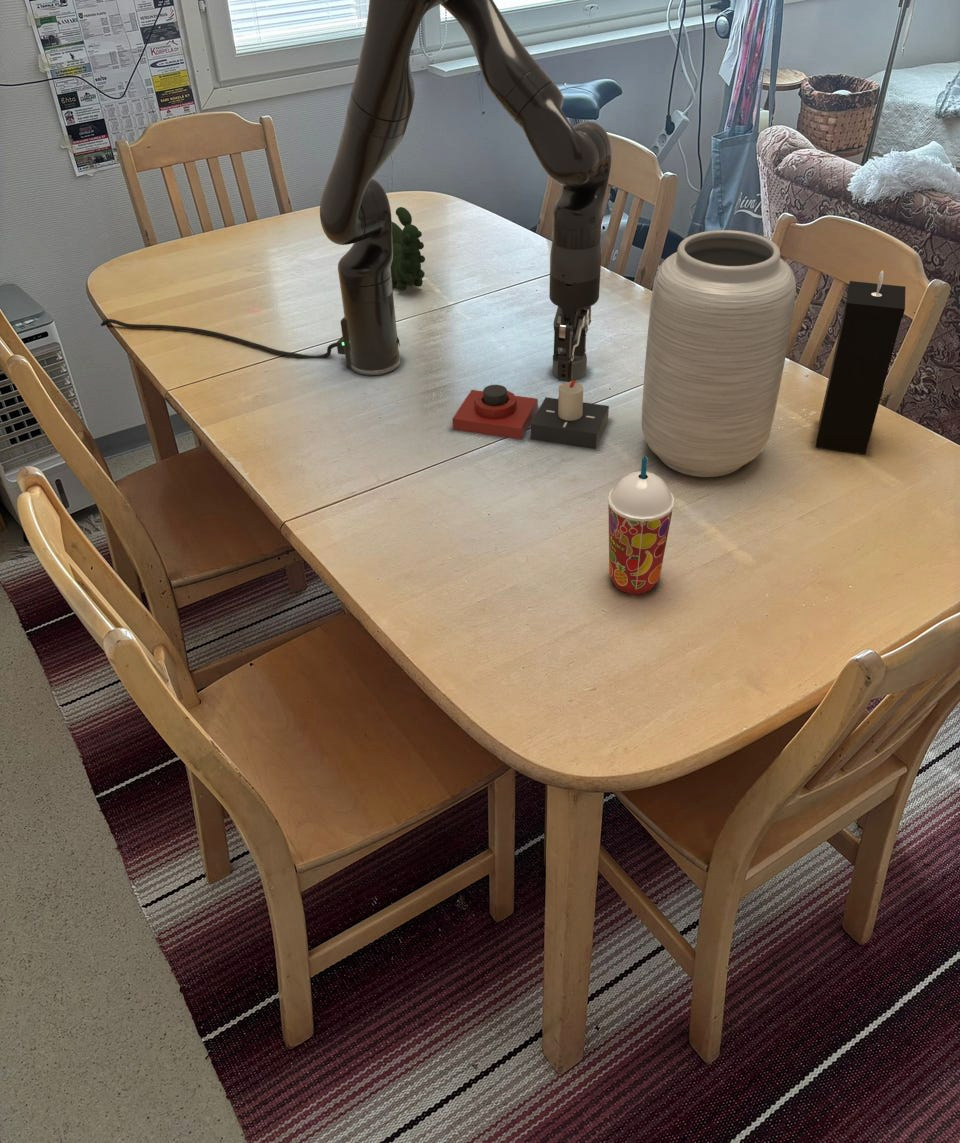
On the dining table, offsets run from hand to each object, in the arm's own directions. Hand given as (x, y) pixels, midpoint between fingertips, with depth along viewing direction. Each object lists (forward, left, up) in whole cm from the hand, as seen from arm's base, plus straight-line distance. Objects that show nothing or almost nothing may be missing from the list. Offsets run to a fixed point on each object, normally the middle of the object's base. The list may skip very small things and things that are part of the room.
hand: (571, 367), depth 154 cm
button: (-13, 0, -8) cm, 15 cm away
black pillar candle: (+43, +9, -12) cm, 45 cm away
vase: (+22, -1, -12) cm, 25 cm away
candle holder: (-5, +19, -12) cm, 23 cm away
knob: (0, 0, -9) cm, 9 cm away
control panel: (0, 0, -12) cm, 12 cm away
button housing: (-13, 0, -12) cm, 17 cm away
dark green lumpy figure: (-52, +50, -12) cm, 73 cm away
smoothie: (+18, -35, -12) cm, 41 cm away
